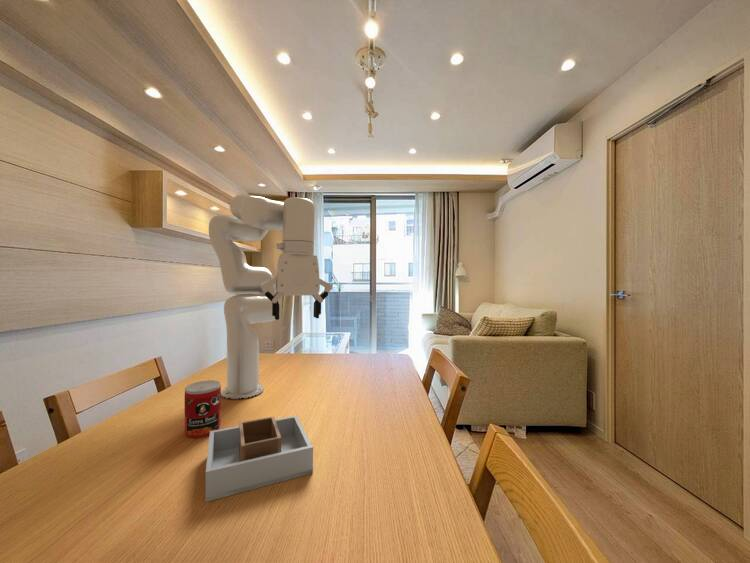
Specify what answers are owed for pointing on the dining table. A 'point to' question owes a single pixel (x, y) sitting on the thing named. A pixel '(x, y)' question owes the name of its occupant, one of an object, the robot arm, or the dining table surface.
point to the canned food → (202, 408)
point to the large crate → (256, 461)
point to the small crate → (258, 438)
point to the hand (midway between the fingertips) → (297, 318)
